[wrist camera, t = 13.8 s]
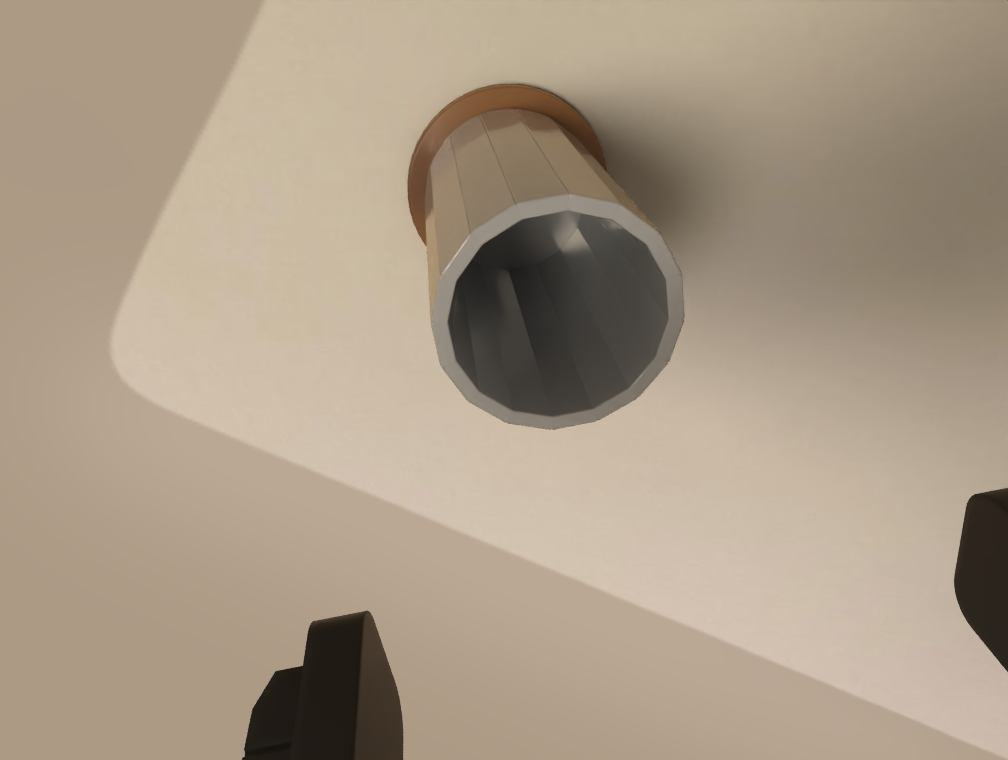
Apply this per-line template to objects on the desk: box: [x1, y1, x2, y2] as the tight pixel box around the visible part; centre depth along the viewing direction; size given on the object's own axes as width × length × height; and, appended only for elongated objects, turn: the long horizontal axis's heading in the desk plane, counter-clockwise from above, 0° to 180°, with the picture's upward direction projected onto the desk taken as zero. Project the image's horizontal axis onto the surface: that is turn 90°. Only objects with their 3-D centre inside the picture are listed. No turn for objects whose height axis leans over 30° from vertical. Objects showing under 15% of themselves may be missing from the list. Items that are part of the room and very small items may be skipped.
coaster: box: [408, 84, 607, 247], centre depth 29 cm, size 7×7×1 cm
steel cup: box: [424, 108, 684, 430], centre depth 23 cm, size 6×6×11 cm
